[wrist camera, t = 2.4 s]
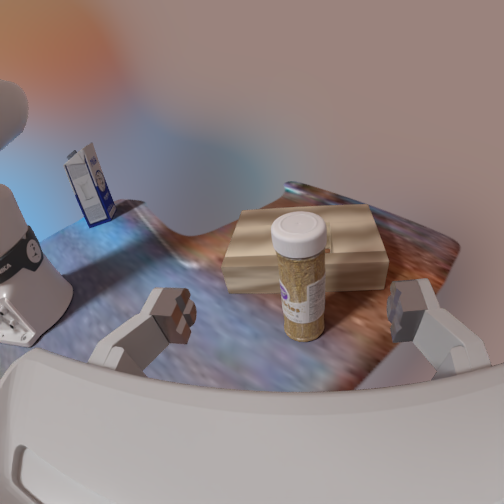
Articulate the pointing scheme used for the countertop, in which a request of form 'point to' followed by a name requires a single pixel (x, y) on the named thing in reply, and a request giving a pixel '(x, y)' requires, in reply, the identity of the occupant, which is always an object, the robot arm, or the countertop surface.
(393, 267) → the countertop surface
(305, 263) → the sprinkles bottle
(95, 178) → the milk carton
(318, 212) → the bottle holder
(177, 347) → the countertop surface
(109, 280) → the countertop surface
